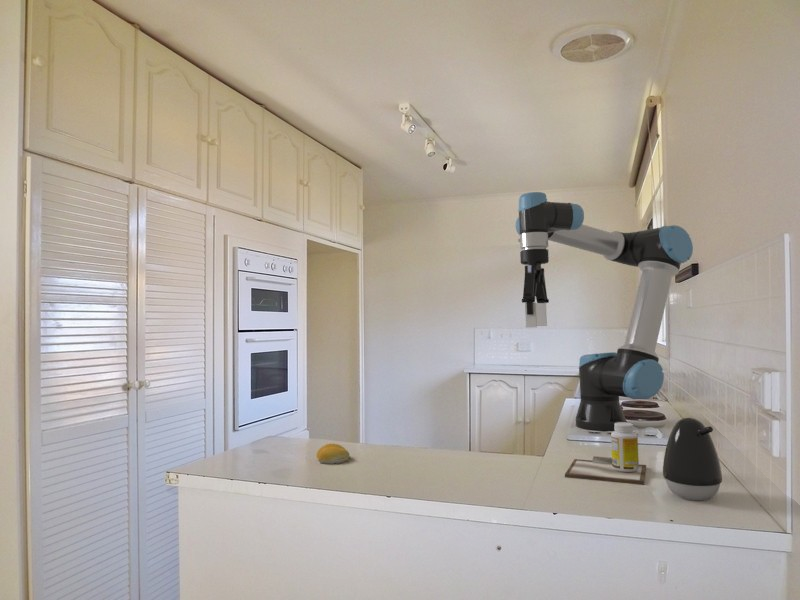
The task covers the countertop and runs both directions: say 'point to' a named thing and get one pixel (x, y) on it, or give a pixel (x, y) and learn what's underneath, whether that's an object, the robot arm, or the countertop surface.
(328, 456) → the bread roll
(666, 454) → the pump dispenser
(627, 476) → the clipboard
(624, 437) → the supplement bottle
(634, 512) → the countertop surface
